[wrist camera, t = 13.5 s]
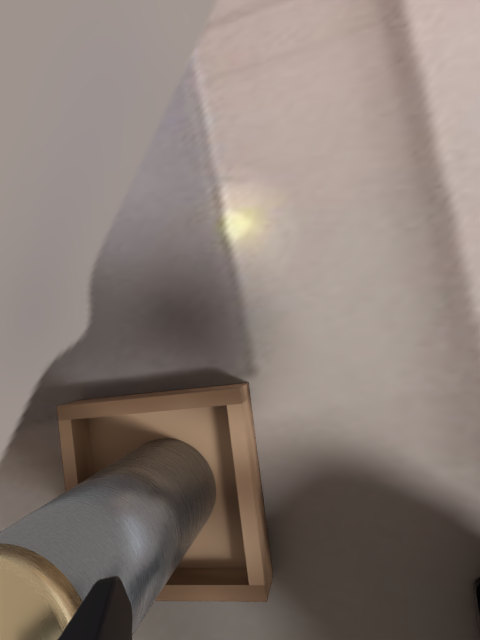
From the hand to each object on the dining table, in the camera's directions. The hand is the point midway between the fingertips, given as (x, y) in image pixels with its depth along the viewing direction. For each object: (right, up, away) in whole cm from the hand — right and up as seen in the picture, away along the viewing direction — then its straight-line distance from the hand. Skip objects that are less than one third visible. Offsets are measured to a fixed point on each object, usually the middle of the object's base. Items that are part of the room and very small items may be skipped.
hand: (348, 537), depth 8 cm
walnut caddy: (-6, -5, +16) cm, 18 cm away
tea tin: (-6, -5, +16) cm, 18 cm away
